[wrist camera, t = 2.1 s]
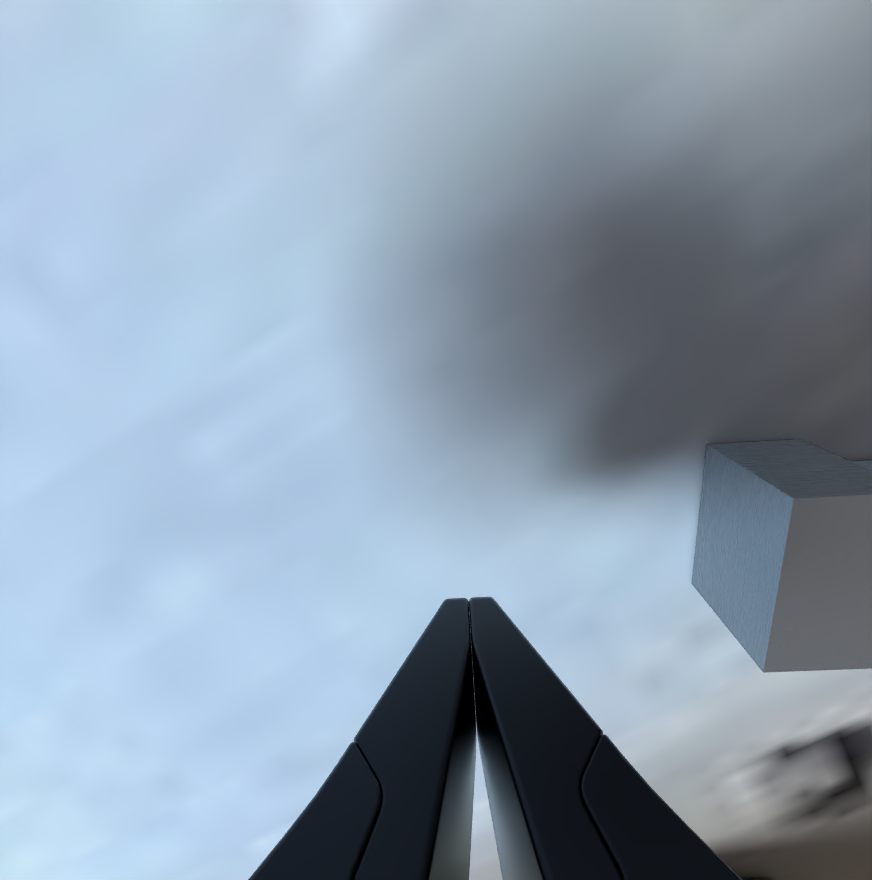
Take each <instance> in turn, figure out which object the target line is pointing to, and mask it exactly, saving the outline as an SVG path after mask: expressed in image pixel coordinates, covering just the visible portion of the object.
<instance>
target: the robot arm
mask: <svg viewBox="0 0 872 880" xmlns="http://www.w3.org/2000/svg"><path fill="white" fill-rule="evenodd" d="M469 611H470V616H469ZM470 628H471V632H470ZM471 645H472V648H471ZM472 661H473V664H472ZM473 677H474V681H473ZM474 693H475V697H474ZM475 709H476V714H475ZM476 724H477V735H478V742H479V748H480V754H481V760H482V766H483V771H484V777H485V782H486V788H487V794H488V799H489V805H490V810H491V816H492V822H493V827H494V833H495V838H496V844H497V850H498V855H499V861H500V867H501V872H502V878H503V880H742V879H741V878H740V877H739V876H738V875H737V874H736V873H735V872H734V871H733V870H732V869H731V868H730V867H729V866H728V865H727V864H726V863H725V862H724V861H723V860H722V859H721V858H720V857H719V856H718V855H717V854H716V853H715V852H714V851H713V850H712V849H711V848H710V847H709V846H708V845H707V844H706V843H705V842H704V841H703V840H702V839H701V838H700V837H699V836H698V835H697V834H696V833H695V832H694V831H693V830H692V829H691V828H690V827H689V826H688V825H687V824H686V823H685V822H684V821H683V820H682V819H681V818H680V817H679V816H678V815H677V814H676V813H675V812H674V811H673V810H672V809H671V808H670V807H669V806H668V805H667V804H666V803H665V802H664V801H663V800H662V799H661V797H660V796H659V795H658V794H657V793H656V792H655V791H654V790H653V789H652V788H651V787H650V786H649V785H648V784H647V782H646V781H645V780H644V779H643V778H642V777H641V776H640V774H639V773H638V772H637V771H636V770H635V769H634V768H633V766H632V765H631V764H630V763H629V762H628V761H627V760H626V758H625V757H624V756H623V755H622V754H621V752H620V751H619V750H618V749H617V747H616V746H615V745H614V744H613V743H612V741H611V740H610V739H609V738H608V736H607V735H604V734H603V731H602V730H601V728H600V727H599V726H598V725H597V724H596V722H595V721H594V720H593V719H592V717H591V716H590V715H589V714H588V713H587V711H586V710H585V709H584V708H583V707H582V705H581V704H580V703H579V702H578V701H577V699H576V698H575V697H574V696H573V694H572V693H571V692H570V691H569V690H568V688H567V687H566V686H565V685H564V684H563V682H562V681H561V680H560V679H559V678H558V676H557V675H556V674H555V673H554V671H553V670H552V669H551V668H550V667H549V665H548V664H547V663H546V662H545V661H544V659H543V658H542V657H541V656H540V655H539V653H538V652H537V651H536V650H535V648H534V647H533V646H532V645H531V644H530V642H529V641H528V640H527V639H526V638H525V636H524V635H523V634H522V633H521V632H520V630H519V629H518V628H517V627H516V625H515V624H514V623H513V622H512V621H511V619H510V618H509V617H508V616H507V615H506V613H505V612H504V611H503V610H502V609H501V607H500V606H499V605H498V604H497V602H496V601H495V600H494V599H493V598H491V597H475V598H471V599H470V600H469V602H468V600H467V599H466V598H453V599H446V600H444V602H443V603H442V605H441V606H440V608H439V609H438V611H437V612H436V614H435V616H434V617H433V619H432V620H431V622H430V623H429V625H428V626H427V628H426V629H425V631H424V632H423V634H422V635H421V637H420V638H419V640H418V642H417V643H416V645H415V646H414V648H413V649H412V651H411V652H410V654H409V655H408V657H407V658H406V660H405V661H404V663H403V664H402V666H401V668H400V669H399V671H398V672H397V674H396V675H395V677H394V678H393V680H392V681H391V683H390V684H389V686H388V687H387V689H386V690H385V692H384V694H383V695H382V697H381V698H380V700H379V701H378V703H377V704H376V706H375V707H374V709H373V710H372V712H371V713H370V715H369V716H368V718H367V719H366V721H365V723H364V724H363V726H362V727H361V729H360V730H359V732H358V733H357V735H356V736H355V738H354V742H352V743H351V744H350V745H349V747H348V748H347V750H346V751H345V753H344V754H343V756H342V757H341V759H340V760H339V762H338V764H337V765H336V766H335V768H334V769H333V771H332V772H331V774H330V775H329V777H328V778H327V779H326V781H325V782H324V784H323V785H322V787H321V788H320V789H319V791H318V792H317V794H316V795H315V797H314V798H313V799H312V800H311V802H310V803H309V804H308V806H307V807H306V808H305V809H304V811H303V812H302V813H301V815H300V816H299V817H298V818H297V820H296V821H295V822H294V824H293V825H292V826H291V827H290V829H289V830H288V831H287V833H286V834H285V835H284V836H283V838H282V839H281V840H280V841H279V843H278V844H277V845H276V846H275V847H274V849H273V850H272V851H271V852H270V854H269V855H268V856H267V857H266V858H265V860H264V861H263V862H262V863H261V865H260V866H259V867H258V868H257V870H256V871H255V872H254V873H253V874H252V876H251V877H250V878H249V879H248V880H469V867H470V849H471V831H472V813H473V795H474V777H475V759H476Z"/></svg>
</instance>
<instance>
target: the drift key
mask: <svg viewBox="0 0 872 880" xmlns="http://www.w3.org/2000/svg"><path fill="white" fill-rule="evenodd" d="M692 585H693V586H694V587H695V588H696V590H697V591H698V592H699V593H700V595H701V596H702V597H703V598H704V600H705V601H706V602H707V603H708V604H709V606H710V607H711V608H712V609H713V611H714V612H715V613H716V614H717V616H718V617H719V618H720V619H721V621H722V622H723V623H724V624H725V626H726V627H727V628H728V629H729V630H730V632H731V633H732V634H733V635H734V637H735V638H736V639H737V640H738V642H739V643H740V644H741V645H742V647H743V648H744V649H745V650H746V652H747V653H748V654H749V655H750V656H751V658H752V659H753V660H754V661H755V663H756V664H757V665H758V666H759V668H760V669H761V670H762V671H763V672H786V671H813V670H841V669H868V668H872V460H865V461H849V460H847V459H845V458H842V457H840V456H838V455H835V454H833V453H831V452H829V451H826V450H824V449H822V448H820V447H817V446H815V445H813V444H811V443H808V442H806V441H804V440H802V439H790V440H773V441H756V442H739V443H722V444H707V446H706V456H705V465H704V474H703V483H702V492H701V502H700V511H699V520H698V529H697V538H696V547H695V557H694V566H693V575H692Z"/></svg>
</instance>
